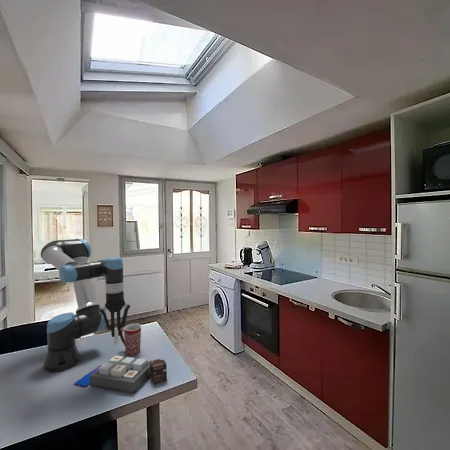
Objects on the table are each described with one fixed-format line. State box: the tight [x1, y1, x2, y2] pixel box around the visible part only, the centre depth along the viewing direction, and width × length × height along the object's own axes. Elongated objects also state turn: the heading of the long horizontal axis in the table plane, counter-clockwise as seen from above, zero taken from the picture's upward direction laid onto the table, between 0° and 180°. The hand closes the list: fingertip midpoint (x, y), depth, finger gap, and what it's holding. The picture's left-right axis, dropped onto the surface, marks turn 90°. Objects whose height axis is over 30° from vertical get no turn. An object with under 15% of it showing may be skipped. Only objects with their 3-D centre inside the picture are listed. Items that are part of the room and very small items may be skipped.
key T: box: [111, 365, 126, 377], centre depth 112 cm, size 4×4×3 cm
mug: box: [119, 323, 142, 357], centre depth 140 cm, size 13×9×14 cm
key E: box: [132, 358, 148, 372], centre depth 117 cm, size 4×4×3 cm
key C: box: [123, 370, 139, 379], centre depth 111 cm, size 4×4×3 cm
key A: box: [108, 355, 125, 366], centre depth 120 cm, size 4×4×3 cm
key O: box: [99, 362, 115, 375], centre depth 114 cm, size 4×4×3 cm
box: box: [149, 357, 168, 385], centre depth 115 cm, size 6×6×7 cm
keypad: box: [89, 357, 151, 395], centre depth 116 cm, size 21×16×4 cm
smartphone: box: [73, 365, 102, 388], centre depth 118 cm, size 7×1×15 cm
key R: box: [121, 356, 136, 370], centre depth 119 cm, size 4×4×3 cm
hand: (116, 343), depth 120 cm, fingers closed
